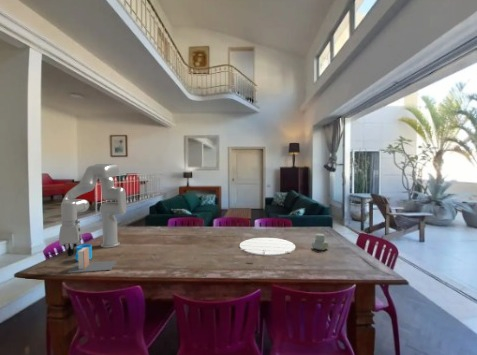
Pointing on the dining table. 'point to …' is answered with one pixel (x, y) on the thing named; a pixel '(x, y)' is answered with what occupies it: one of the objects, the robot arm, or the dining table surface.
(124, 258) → the dining table surface
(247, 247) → the lazy susan
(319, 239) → the air freshener
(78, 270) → the mat
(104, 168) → the robot arm
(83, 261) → the white rectangular block
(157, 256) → the dining table surface
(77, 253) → the mug
